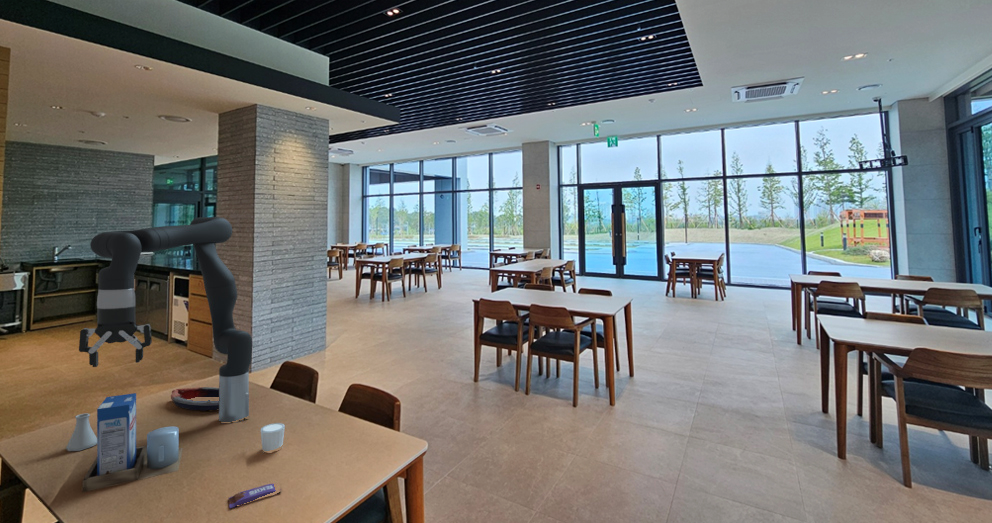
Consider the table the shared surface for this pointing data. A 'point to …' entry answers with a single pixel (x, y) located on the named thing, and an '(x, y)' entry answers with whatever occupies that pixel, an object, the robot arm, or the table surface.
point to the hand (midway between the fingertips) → (117, 364)
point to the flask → (82, 434)
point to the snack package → (250, 495)
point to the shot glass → (272, 436)
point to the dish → (187, 393)
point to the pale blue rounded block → (162, 447)
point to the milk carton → (116, 434)
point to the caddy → (126, 472)
